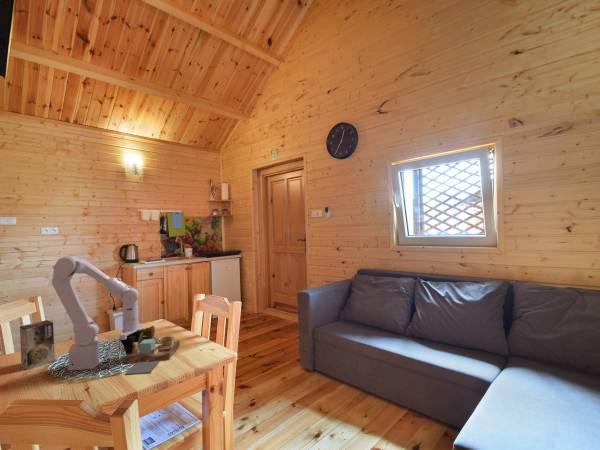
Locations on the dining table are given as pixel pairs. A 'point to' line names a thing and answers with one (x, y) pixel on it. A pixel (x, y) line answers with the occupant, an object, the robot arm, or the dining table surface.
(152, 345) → the cube
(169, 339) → the strip
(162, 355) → the lane board
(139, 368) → the felt pad
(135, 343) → the strip
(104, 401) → the dining table surface
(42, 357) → the coffee box
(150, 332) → the kendama
